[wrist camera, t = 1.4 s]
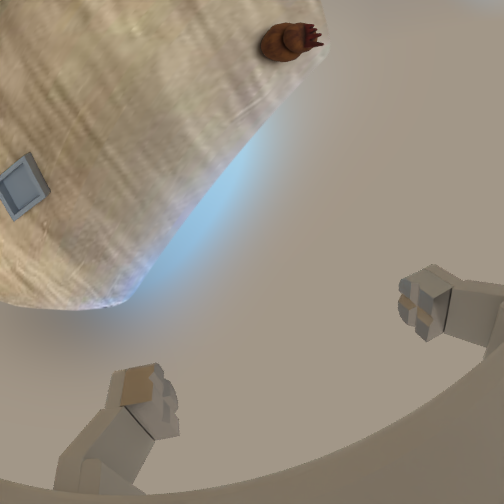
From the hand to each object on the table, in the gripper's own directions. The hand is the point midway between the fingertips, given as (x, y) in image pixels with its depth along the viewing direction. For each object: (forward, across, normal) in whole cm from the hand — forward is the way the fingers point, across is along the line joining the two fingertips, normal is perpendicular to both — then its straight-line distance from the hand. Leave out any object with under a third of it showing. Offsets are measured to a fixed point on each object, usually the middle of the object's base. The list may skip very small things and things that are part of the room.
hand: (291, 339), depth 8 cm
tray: (+37, +30, -11) cm, 48 cm away
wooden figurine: (+41, -16, -21) cm, 48 cm away
